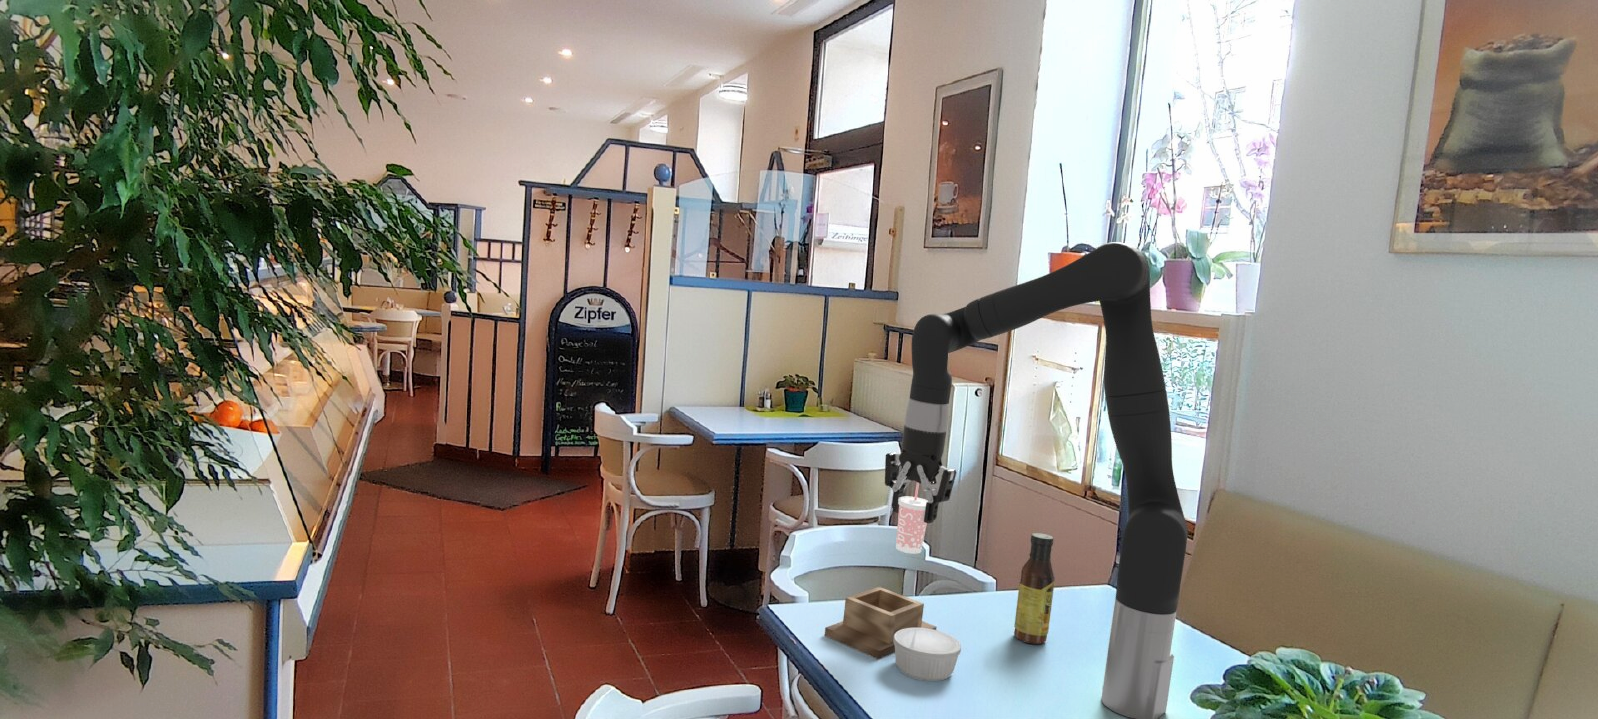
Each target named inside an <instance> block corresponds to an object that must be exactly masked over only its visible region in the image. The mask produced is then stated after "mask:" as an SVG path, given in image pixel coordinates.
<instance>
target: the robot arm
mask: <svg viewBox="0 0 1598 719" xmlns="http://www.w3.org/2000/svg"><path fill="white" fill-rule="evenodd" d="M1150 274H1151V272H1150V264H1149V262H1148V259H1147V257H1146V256H1145V255H1144V253H1143V252H1142V251H1141V250H1140V249H1138V248H1137V247H1135V246H1133V245H1131V244H1128V243H1123V242H1118V241H1117V242H1116V241H1113V242H1112V241H1111V242H1107V243H1106V242H1105V243H1104V244H1102V245H1099V246H1098V247H1097V248H1095V249H1093V250H1092V251H1090V252H1088V253H1086V254H1084V255H1083V256H1081V257H1079V258H1077V259H1076V260H1074V261H1072V262H1071V263H1069V264H1067V265H1064V266H1061V267H1060V268H1059V269H1056V270H1054V271H1052V272H1050V273H1046V274H1045V275H1042V276H1040V277H1037V278H1034V279H1030V280H1028V281H1024V282H1023V283H1019V284H1016V285H1013V286H1010V287H1007V288H1004V289H1001V290H999V291H996V292H992V293H989V294H988V295H984V296H981V297H979V298H976V299H974V300H972V301H970V302H968V303H967V305H966V306H964V307H961V308H958V309H955V310H952V311H950V312H947V313H946V312H945V313H942V314H939V313H938V314H937V313H931V314H927V315H926V314H925V315H924V316H922V317H921V318H920V319H919V320H918V321H917V322H916V324H915V326H914V328H913V332H912V336H911V343H910V344H911V348H910V349H911V364H912V378H911V384H910V392H909V393H910V394H909V399H908V404H907V405H906V406H907V407H906V412H905V417H904V426H903V430H902V431H903V432H902V438H901V439H902V440H901V449H902V450H901V452H900V453H898V452H897V451H895V452H889V453H886V454H885V462H884V466H885V467H884V468H885V469H884V485H885V486H886V487H889V488H891V489H892V492H893V493H892V500H891V509H892V512H893V513H896V514H899V504H898V502H899V501H898V499H899V497H903V496H906V491H905V490H906V488H907V486H909V483H911V482H916V483H917V482H918V483H919V485H920V484H921V488H922V490H923V491H924V492H925V496H926V500H928V502H926V509H925V516H924V522H925V523H927V524H931V523H933V522H934V521H936V519H937V516H938V509H939V504H940V503H943V502H947V501H950V499H951V494H952V491H953V488H954V483H955V480H956V476H957V470H956V469H955V468H948V467H947V466H944V465H943V462H942V457H943V454H944V452H945V445H946V438H947V437H946V436H947V431H948V423H949V417H950V416H949V414H950V412H949V411H950V410H949V408H950V397H951V391H952V384H953V383H952V382H953V377H952V373H951V372H949V370H948V363H949V362H948V361H949V354H950V353H954V352H957V351H961V350H962V349H964V348H967V347H968V346H972V345H973V344H976V343H978V342H979V341H982V340H986V339H989V338H990V339H991V338H993V337H996V336H999V335H1002V334H1003V335H1004V334H1006V333H1009V332H1011V331H1014V330H1017V329H1019V328H1022V327H1025V326H1027V325H1029V324H1031V323H1034V322H1035V321H1038V320H1040V319H1042V318H1044V317H1046V316H1049V315H1051V314H1053V313H1055V312H1058V311H1062V310H1064V309H1068V308H1070V307H1071V308H1072V307H1074V306H1078V305H1083V304H1089V303H1096V302H1099V304H1100V305H1099V306H1100V308H1101V313H1102V318H1103V322H1104V327H1105V328H1104V329H1105V352H1104V353H1105V354H1104V366H1103V368H1104V369H1103V370H1104V371H1103V386H1104V396H1105V402H1106V410H1107V416H1108V421H1109V425H1110V426H1109V427H1110V430H1111V433H1112V437H1113V440H1114V441H1113V442H1114V444H1115V446H1116V450H1117V452H1118V455H1119V458H1120V461H1121V464H1122V465H1123V470H1124V475H1125V481H1126V491H1127V507H1128V508H1127V513H1128V514H1127V515H1128V516H1127V521H1126V524H1125V526H1124V529H1123V533H1122V540H1121V545H1120V554H1119V560H1118V569H1117V574H1116V575H1117V576H1116V593H1115V598H1114V605H1113V611H1112V618H1111V626H1110V633H1109V639H1108V640H1109V641H1108V647H1107V654H1106V655H1107V656H1106V662H1105V669H1104V670H1105V671H1104V675H1103V676H1104V677H1103V683H1102V691H1101V698H1100V700H1101V702H1102V703H1103V706H1105V707H1107V709H1109V710H1111V711H1113V712H1114V713H1116V714H1119V715H1120V716H1125V717H1128V718H1131V719H1159V718H1160V717H1162V716H1163V715H1164V714H1165V713H1166V712H1167V706H1168V698H1169V693H1170V688H1171V687H1170V686H1171V679H1172V674H1173V673H1172V672H1173V665H1174V660H1175V659H1174V658H1175V656H1174V654H1172V653H1171V652H1172V645H1173V644H1172V643H1173V638H1174V629H1175V623H1176V618H1177V617H1176V616H1177V610H1178V604H1179V599H1180V591H1181V584H1182V577H1183V571H1184V564H1185V563H1184V562H1185V558H1186V557H1185V556H1186V553H1187V542H1188V537H1189V536H1188V535H1189V532H1188V531H1189V530H1188V524H1187V521H1186V518H1185V514H1184V511H1183V508H1182V505H1181V500H1180V497H1179V493H1178V488H1177V486H1176V485H1177V484H1176V481H1175V480H1176V479H1175V474H1174V471H1173V470H1174V469H1173V445H1172V443H1173V442H1172V426H1171V415H1170V413H1171V412H1170V407H1169V401H1168V400H1169V398H1168V394H1167V393H1168V392H1167V386H1166V383H1165V377H1164V372H1163V367H1162V361H1161V358H1160V353H1159V348H1158V345H1157V340H1156V337H1155V332H1154V329H1153V320H1152V304H1151V277H1150V276H1151V275H1150ZM899 465H900V466H901V471H900V472H899ZM937 475H939V478H940V482H939V479H938V477H937Z"/></svg>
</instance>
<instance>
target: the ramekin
mask: <svg viewBox="0 0 1598 719" xmlns="http://www.w3.org/2000/svg"><path fill="white" fill-rule="evenodd" d="M893 642H894V645H895V652H894V658H895V664H896V666H897V668H898V670H899V671H900V673H902V674H904V675H906V676H907V677H910V678H911V679H915V680H919V681H923V682H924V681H926V682H941V681H944V680H947V679H948V678H949V677H951V675H953V674H954V671H955V667H956V664H957V661H958V658H959V655H960V654H961V651H962V644H961V643H960V641H959V640H958V639H957V638H956V637H954V636H952V635H950V634H949V633H946V632H944V631H941V630H937V629H936V630H933V629H928V628H906V629H902V630H899V631H897V632H896V633H895V634H894V638H893Z"/></svg>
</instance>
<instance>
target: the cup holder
mask: <svg viewBox="0 0 1598 719" xmlns="http://www.w3.org/2000/svg"><path fill="white" fill-rule="evenodd" d="M844 602H845V603H844V611H843V619H842V621H840V622H839V621H838V622H837V623H834V624H831V625H828V626H826V627H825V628H824V636H825V637H826V638H829V639H831V640H834V641H836V642H838V643H840V644H842V645H845V646H846V647H849V648H851V649H854V650H856V651H858V652H861V653H862V654H864V655H865V654H866V655H868V656H870V657H872V658H874V659H877V660H880V659H883V658H885V657H888V656H889V655H891V654H895V645H894V642H893V638H894V634H895V633H896V632H897V631H899V630H902V629H906V628H928V629H933V630H937V628H938V626H936V625H933V624H931V623H928V622H926V621H923V616H924V614H923V613H924V608H925V607H924V606H925V603H924V602H920V601H918V600H915V599H913V598H910V597H908V596H905V595H902V594H900V593H897V592H894V591H891V590H889V589H887V588H883V587H881V586H877V587H874V588H871V589H868V590H864V591H862V592H858V593H856V594H852V595H850V596H847V597H845V601H844Z"/></svg>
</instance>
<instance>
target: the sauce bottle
mask: <svg viewBox="0 0 1598 719" xmlns="http://www.w3.org/2000/svg"><path fill="white" fill-rule="evenodd" d="M1053 545H1054V537H1053V536H1052V535H1049V534H1046V533H1040V532H1039V533H1038V532H1035V533H1034V532H1032V534H1031V536H1030V553H1029V558H1028V560H1027V561H1026V562H1025V563H1024V564H1023V566H1022V569H1021V572H1020V574H1021V576H1020V581H1019V586H1018V591H1017V592H1018V593H1017V599H1016V600H1017V601H1016V608H1015V609H1016V610H1015V617H1014V632H1013V634H1014V637H1016V639H1017V640H1019V641H1021V642H1023V643H1027V644H1034V645H1039V644H1041V645H1042V644H1045V642H1047V638H1048V637H1047V636H1048V634H1049V629H1050V620H1051V614H1052V613H1051V612H1052V607H1053V606H1052V605H1053V604H1052V603H1053V596H1054V589H1055V582H1056V581H1055V575H1054V571H1053V567H1052V566H1053V565H1052V562H1051V561H1052V560H1051V557H1052V556H1051V555H1052V547H1053Z"/></svg>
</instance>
